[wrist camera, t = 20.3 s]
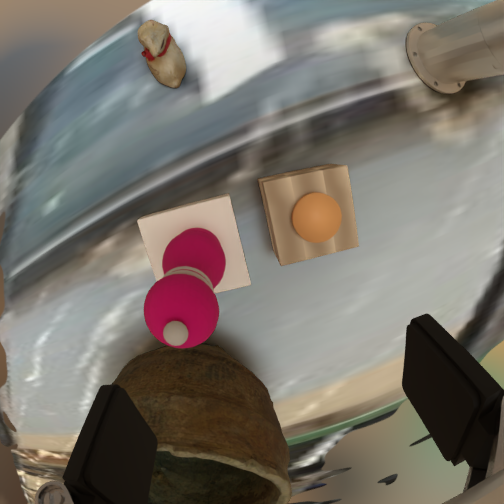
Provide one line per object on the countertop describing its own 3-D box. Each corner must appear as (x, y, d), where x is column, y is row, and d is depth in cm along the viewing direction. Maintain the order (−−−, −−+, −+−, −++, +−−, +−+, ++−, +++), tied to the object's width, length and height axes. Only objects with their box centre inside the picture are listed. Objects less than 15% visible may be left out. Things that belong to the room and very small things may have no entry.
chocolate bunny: (191, 36, 32) (181, 3, 23) (183, 88, 35) (171, 67, 25) (150, 37, 32) (131, 7, 22) (142, 88, 34) (118, 70, 25)
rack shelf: (229, 193, 39) (229, 195, 37) (249, 277, 43) (251, 284, 41) (142, 216, 39) (137, 220, 37) (168, 296, 43) (165, 304, 41)
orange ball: (319, 183, 39) (337, 188, 33) (326, 223, 41) (344, 236, 35) (278, 191, 39) (289, 199, 33) (286, 232, 41) (298, 247, 34)
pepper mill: (226, 277, 40) (230, 379, 21) (171, 278, 40) (134, 378, 21) (224, 222, 38) (224, 290, 19) (166, 224, 37) (113, 292, 18)
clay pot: (298, 347, 48) (346, 476, 24) (228, 437, 53) (235, 545, 29) (147, 281, 42) (84, 408, 18) (105, 391, 48) (66, 501, 24)
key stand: (330, 163, 39) (347, 165, 34) (341, 234, 42) (358, 246, 37) (257, 178, 39) (263, 182, 33) (273, 250, 42) (280, 266, 37)
